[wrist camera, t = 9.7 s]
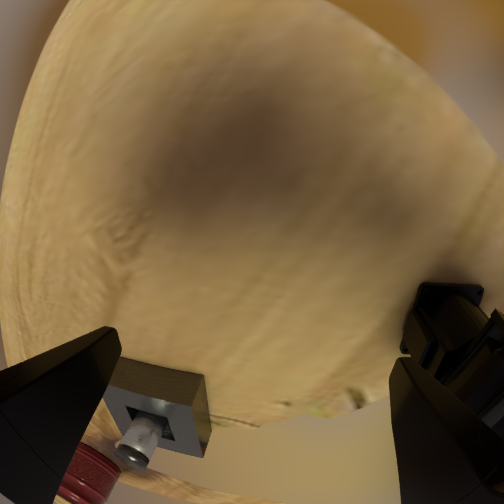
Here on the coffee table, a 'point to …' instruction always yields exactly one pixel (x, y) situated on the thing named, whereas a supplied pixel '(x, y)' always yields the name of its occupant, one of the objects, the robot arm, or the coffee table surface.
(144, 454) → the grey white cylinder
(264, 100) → the coffee table surface
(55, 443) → the robot arm
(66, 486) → the canister
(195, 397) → the chuck block
